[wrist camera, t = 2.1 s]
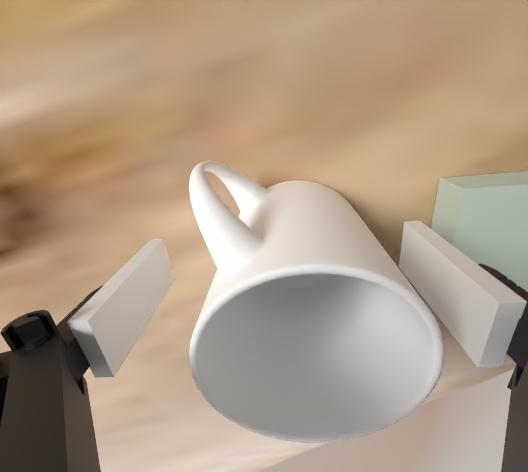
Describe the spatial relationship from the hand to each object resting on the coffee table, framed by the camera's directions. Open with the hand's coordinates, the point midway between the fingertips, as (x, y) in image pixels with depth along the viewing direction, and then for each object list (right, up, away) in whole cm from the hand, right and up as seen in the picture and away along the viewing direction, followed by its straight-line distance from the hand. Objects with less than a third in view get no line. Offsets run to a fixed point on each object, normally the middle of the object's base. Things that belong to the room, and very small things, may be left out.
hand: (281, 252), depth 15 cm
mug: (0, +2, +4) cm, 4 cm away
